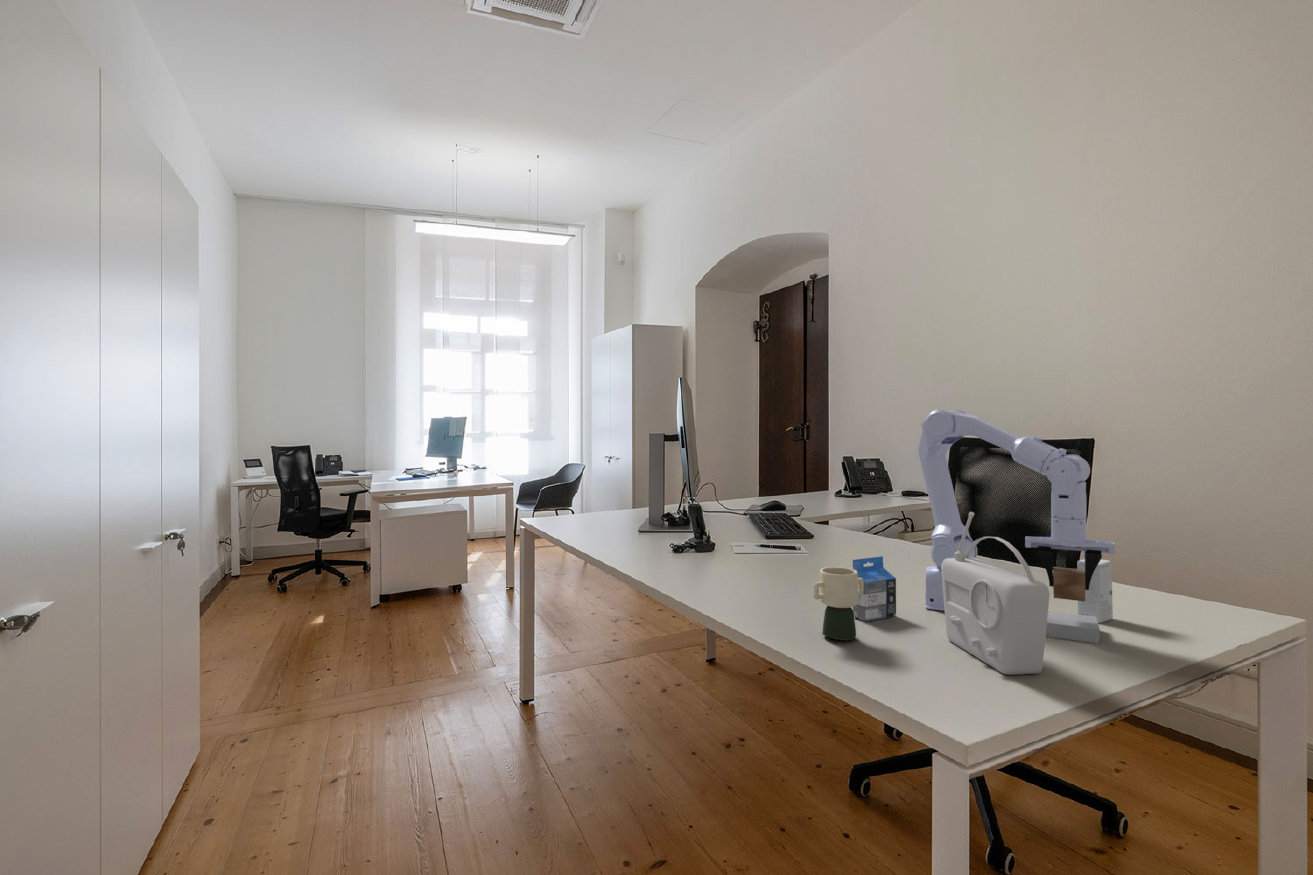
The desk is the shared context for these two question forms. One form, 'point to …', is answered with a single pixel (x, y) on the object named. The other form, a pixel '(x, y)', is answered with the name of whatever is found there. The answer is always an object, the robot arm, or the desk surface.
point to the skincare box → (1098, 592)
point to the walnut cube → (1069, 583)
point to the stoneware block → (1073, 627)
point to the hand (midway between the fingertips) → (1068, 587)
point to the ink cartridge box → (875, 590)
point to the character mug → (839, 600)
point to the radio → (995, 610)
